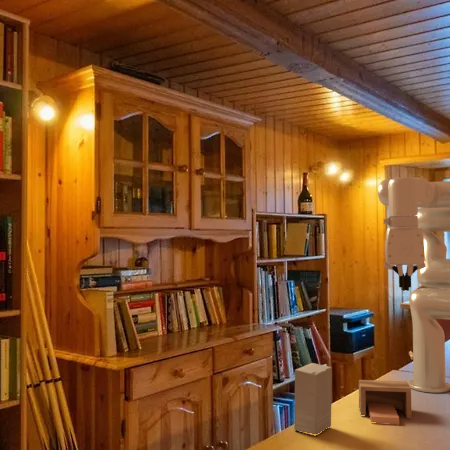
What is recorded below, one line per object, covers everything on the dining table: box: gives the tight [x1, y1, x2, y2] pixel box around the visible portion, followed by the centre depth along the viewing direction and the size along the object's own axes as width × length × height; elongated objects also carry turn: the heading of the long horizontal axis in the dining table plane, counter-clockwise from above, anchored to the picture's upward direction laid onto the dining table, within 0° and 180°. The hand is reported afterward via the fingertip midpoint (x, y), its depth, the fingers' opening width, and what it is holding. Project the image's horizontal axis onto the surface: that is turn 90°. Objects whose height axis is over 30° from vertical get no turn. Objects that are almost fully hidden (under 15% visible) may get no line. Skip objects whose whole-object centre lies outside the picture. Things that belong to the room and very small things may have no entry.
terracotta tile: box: [366, 403, 400, 425], centre depth 148 cm, size 12×7×2 cm, turn 170°
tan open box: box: [358, 379, 412, 419], centre depth 151 cm, size 8×13×8 cm, turn 80°
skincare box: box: [293, 362, 333, 434], centre depth 138 cm, size 8×7×16 cm
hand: (405, 290), depth 150 cm, fingers closed
